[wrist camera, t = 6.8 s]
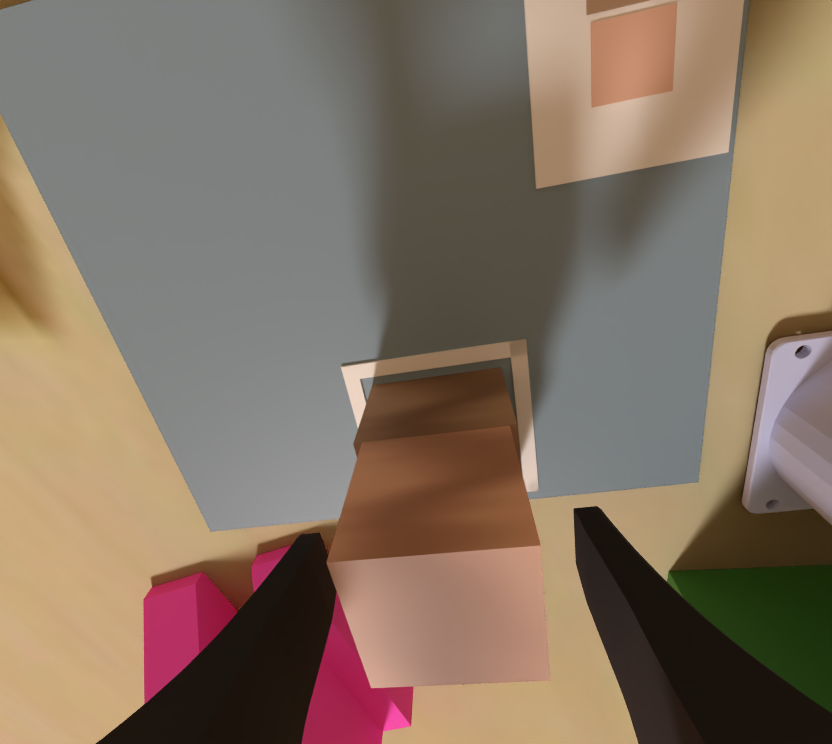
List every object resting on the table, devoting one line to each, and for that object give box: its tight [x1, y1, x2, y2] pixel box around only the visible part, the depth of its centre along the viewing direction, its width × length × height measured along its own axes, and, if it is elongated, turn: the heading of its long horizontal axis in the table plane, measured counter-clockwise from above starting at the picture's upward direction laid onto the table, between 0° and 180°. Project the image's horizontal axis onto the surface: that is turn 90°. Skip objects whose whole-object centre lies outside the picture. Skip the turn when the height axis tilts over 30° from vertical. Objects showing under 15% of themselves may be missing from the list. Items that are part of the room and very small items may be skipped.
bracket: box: [144, 545, 413, 744], centre depth 20 cm, size 12×10×10 cm
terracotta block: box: [326, 426, 550, 688], centre depth 12 cm, size 4×4×4 cm
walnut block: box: [353, 367, 522, 471], centre depth 16 cm, size 5×5×4 cm
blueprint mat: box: [0, 0, 750, 532], centre depth 16 cm, size 22×20×1 cm
